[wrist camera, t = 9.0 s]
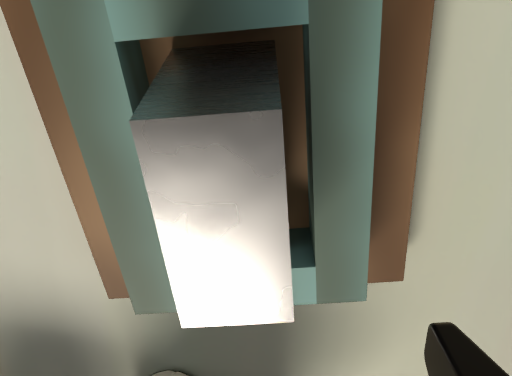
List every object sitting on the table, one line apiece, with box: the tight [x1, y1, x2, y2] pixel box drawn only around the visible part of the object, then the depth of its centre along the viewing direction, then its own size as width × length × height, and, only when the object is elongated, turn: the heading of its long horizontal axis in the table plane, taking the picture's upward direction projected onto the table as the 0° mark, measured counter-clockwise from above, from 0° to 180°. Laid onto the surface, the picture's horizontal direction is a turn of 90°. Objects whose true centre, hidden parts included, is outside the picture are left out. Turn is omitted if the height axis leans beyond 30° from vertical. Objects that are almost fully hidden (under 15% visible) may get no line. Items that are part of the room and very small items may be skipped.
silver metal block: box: [129, 40, 294, 328], centre depth 15 cm, size 4×7×6 cm, turn 5°
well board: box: [0, 0, 435, 315], centre depth 17 cm, size 14×16×4 cm
